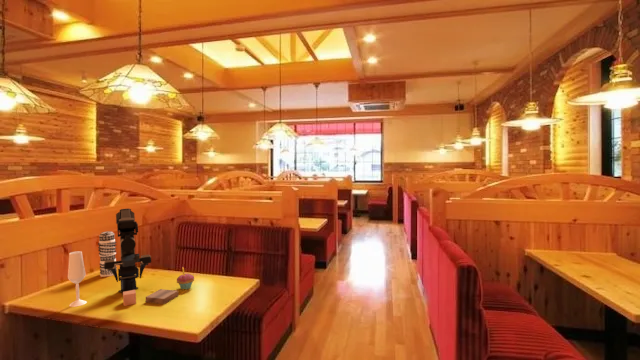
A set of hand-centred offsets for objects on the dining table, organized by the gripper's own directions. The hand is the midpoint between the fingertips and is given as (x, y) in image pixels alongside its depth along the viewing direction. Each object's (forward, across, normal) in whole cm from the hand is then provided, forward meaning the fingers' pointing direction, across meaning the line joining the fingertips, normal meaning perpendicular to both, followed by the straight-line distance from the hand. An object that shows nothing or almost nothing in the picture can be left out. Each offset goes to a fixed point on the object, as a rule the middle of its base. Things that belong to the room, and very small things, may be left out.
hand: (129, 279), depth 155 cm
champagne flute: (+11, -20, +12) cm, 26 cm away
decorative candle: (+11, -9, +54) cm, 56 cm away
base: (+11, +13, -4) cm, 18 cm away
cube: (+11, 0, 0) cm, 11 cm away
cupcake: (+11, +25, +6) cm, 28 cm away
